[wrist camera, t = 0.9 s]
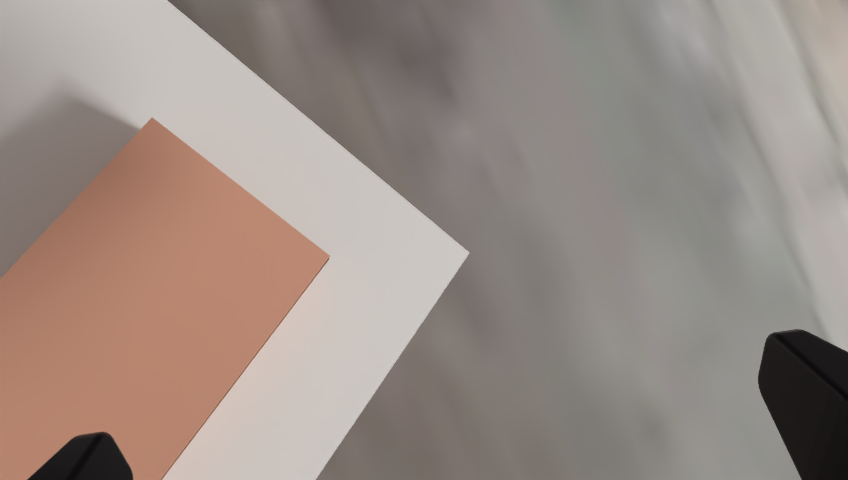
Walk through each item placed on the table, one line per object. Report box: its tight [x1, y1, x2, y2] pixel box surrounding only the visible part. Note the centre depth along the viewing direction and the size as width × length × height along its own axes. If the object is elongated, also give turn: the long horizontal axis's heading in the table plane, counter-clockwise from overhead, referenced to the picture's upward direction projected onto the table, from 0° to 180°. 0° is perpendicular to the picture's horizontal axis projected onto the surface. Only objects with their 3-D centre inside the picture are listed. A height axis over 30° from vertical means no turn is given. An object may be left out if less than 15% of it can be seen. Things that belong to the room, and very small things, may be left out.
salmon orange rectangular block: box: [0, 117, 330, 480], centre depth 15 cm, size 12×5×4 cm, turn 143°
